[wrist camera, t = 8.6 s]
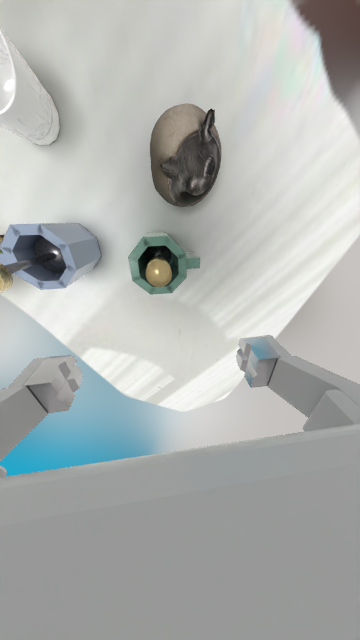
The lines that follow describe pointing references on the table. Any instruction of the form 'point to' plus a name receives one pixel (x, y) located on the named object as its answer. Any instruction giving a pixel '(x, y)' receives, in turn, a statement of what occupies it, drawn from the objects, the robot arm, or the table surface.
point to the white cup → (24, 99)
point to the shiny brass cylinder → (158, 265)
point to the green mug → (177, 262)
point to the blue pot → (69, 238)
